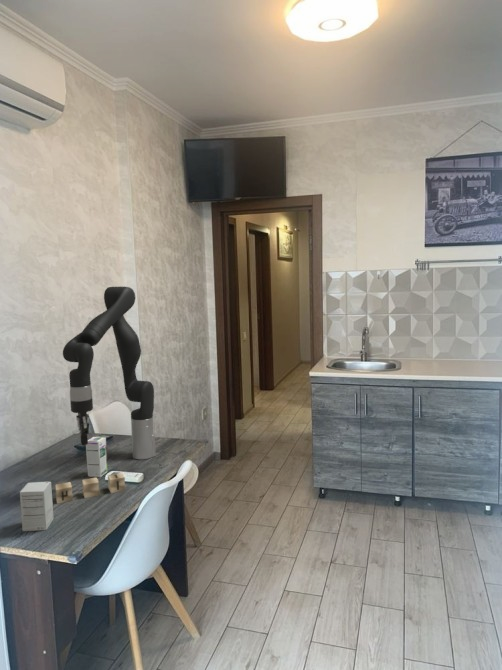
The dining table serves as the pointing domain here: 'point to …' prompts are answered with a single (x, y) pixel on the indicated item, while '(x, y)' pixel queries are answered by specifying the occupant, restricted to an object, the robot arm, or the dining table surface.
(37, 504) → the supplement box
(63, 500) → the light wooden cube
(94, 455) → the syrup box
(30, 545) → the dining table surface
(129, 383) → the robot arm
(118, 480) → the digit one block
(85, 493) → the plain block
